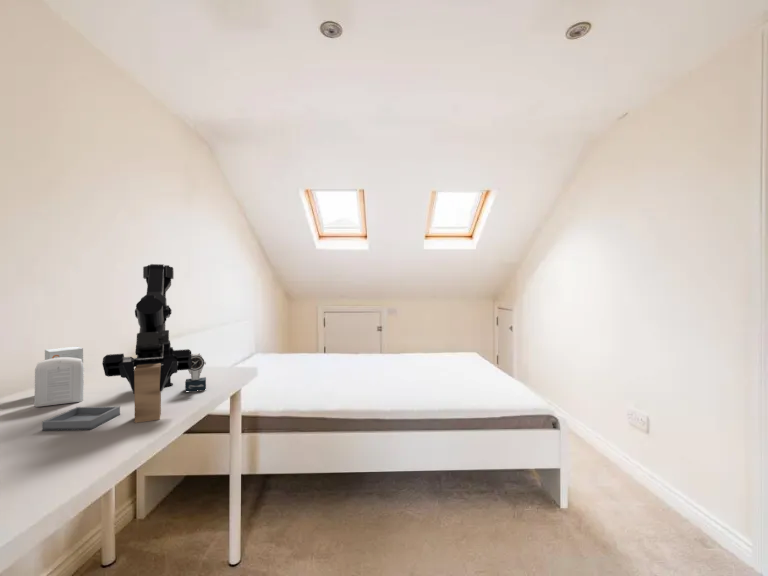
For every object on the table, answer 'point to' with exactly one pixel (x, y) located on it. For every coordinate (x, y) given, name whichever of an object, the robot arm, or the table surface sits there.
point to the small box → (64, 353)
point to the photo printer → (59, 381)
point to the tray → (80, 418)
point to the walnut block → (147, 392)
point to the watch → (196, 374)
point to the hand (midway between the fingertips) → (147, 391)
